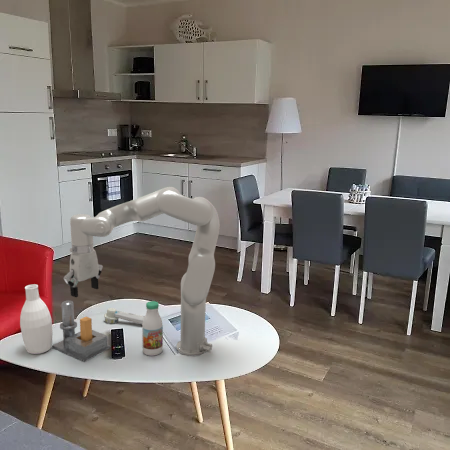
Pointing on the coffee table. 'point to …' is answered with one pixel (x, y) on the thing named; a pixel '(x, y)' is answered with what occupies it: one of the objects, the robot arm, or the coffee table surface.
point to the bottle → (35, 322)
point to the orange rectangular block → (86, 329)
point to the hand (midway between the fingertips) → (85, 292)
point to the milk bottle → (152, 330)
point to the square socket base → (78, 337)
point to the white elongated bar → (122, 316)
